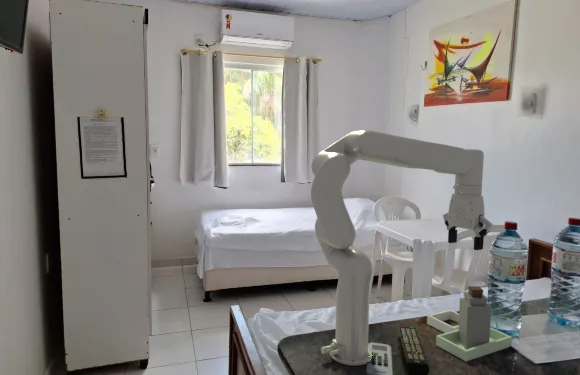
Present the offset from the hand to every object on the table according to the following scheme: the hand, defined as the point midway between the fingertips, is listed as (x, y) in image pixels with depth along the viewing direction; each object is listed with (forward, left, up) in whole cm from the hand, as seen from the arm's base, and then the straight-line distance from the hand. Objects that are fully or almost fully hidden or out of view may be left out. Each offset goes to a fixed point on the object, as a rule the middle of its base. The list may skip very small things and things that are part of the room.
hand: (464, 246), depth 125 cm
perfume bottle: (+2, -3, -31) cm, 31 cm away
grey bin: (+7, +9, -31) cm, 33 cm away
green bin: (+2, -3, -31) cm, 31 cm away
